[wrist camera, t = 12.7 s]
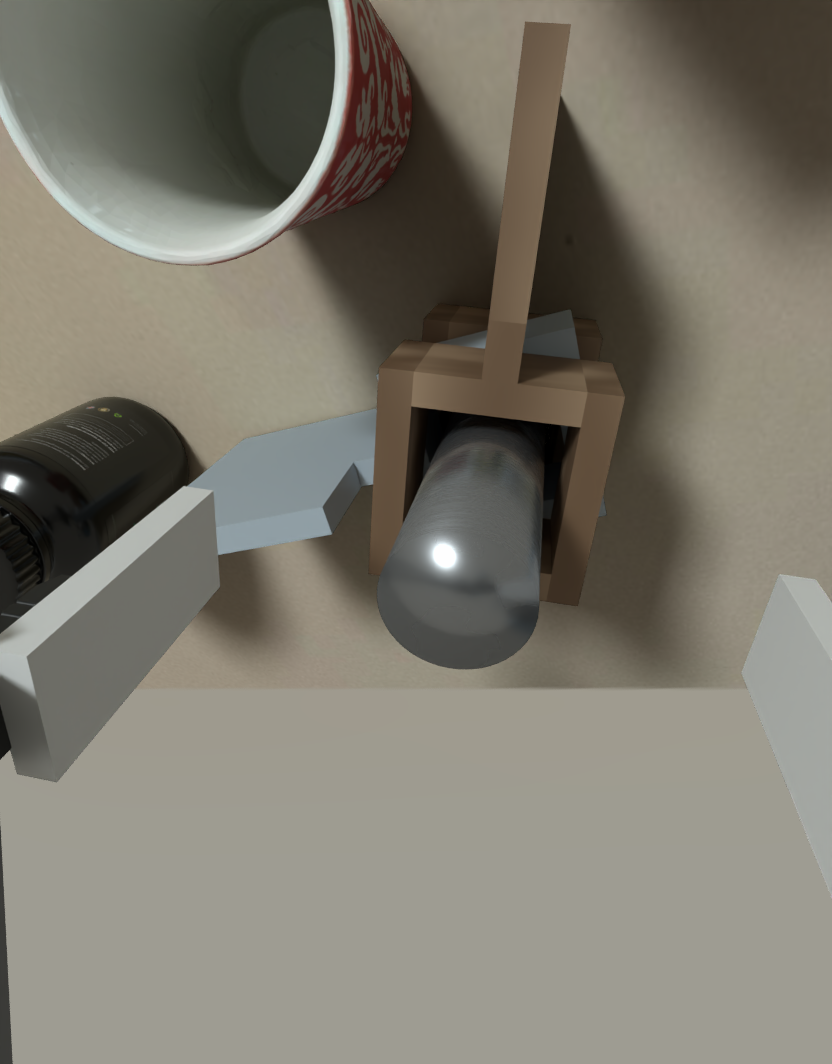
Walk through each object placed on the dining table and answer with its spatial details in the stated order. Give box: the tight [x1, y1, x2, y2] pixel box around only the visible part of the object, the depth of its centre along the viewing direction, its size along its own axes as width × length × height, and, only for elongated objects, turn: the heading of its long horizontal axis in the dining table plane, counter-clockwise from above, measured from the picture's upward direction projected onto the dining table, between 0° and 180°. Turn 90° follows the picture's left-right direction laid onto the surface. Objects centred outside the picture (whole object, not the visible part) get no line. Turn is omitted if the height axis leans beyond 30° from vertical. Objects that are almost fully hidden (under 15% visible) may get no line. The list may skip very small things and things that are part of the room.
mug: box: [0, 0, 412, 265], centre depth 20 cm, size 13×9×14 cm
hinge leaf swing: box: [187, 309, 607, 555], centre depth 27 cm, size 17×7×12 cm, turn 106°
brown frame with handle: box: [369, 22, 625, 606], centre depth 23 cm, size 7×15×12 cm, turn 176°
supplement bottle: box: [0, 397, 189, 615], centre depth 30 cm, size 7×7×12 cm
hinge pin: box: [377, 412, 546, 669], centre depth 23 cm, size 4×4×18 cm
